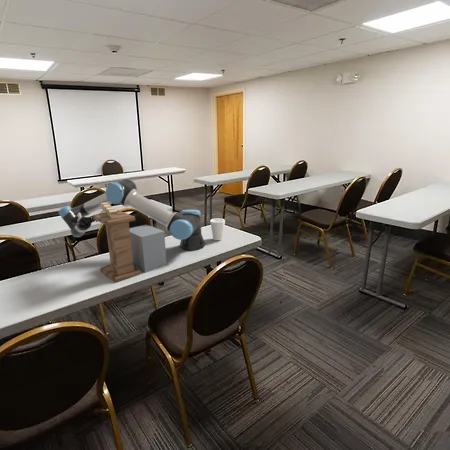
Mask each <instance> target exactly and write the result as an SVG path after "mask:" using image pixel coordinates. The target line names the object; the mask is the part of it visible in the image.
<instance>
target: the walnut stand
mask: <svg viewBox="0 0 450 450" xmlns="http://www.w3.org/2000/svg"><path fill="white" fill-rule="evenodd" d="M116 211H117V213H118V218H113V219H111V218H110V217H109V216H108V215H107V214H106V213H101V212H100V213H101V214H99V213H98V214H92V216H93V219H94V220H96V221H98V222H99V223H100V224H103V225H105V231H106V232H105V233H106V237H107V238H106V239H107V244H108V245H107V246H108V253H109V260H110V264H109V265H105V266H100V268H99V270H100V272H101V273H102V274H104V275H105V276H106V277H108V278H109V279H110V280H112V281H113V282H114V283H119V282H122V281H125V280H128V279H130V278H133V277H137V276H139V275H140V276H141V274H142V272H141V271H142V270H140V269H138V268H137V267H135V266H133V257H132V248H131V239H130V229H129V228H130V222H134V221H135V222H136V216H134V215H131V214H129V213H127V212H124V211H120V210H118V209H117V210H116ZM96 221H95V222H96Z"/></svg>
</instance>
